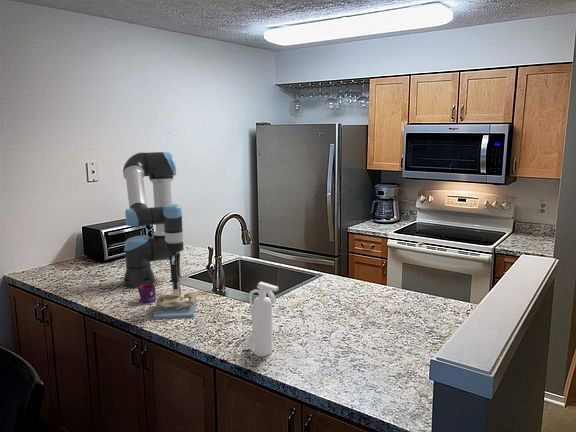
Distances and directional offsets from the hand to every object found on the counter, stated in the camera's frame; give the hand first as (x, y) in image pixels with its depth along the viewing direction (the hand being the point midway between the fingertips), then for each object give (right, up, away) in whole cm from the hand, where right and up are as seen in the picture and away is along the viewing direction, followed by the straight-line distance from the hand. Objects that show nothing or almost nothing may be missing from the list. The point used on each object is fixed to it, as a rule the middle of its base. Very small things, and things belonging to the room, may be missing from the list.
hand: (176, 294), depth 198 cm
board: (0, -6, -3) cm, 7 cm away
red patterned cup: (-16, -4, +10) cm, 19 cm away
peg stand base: (0, -3, -1) cm, 3 cm away
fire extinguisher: (+39, -13, -39) cm, 57 cm away
